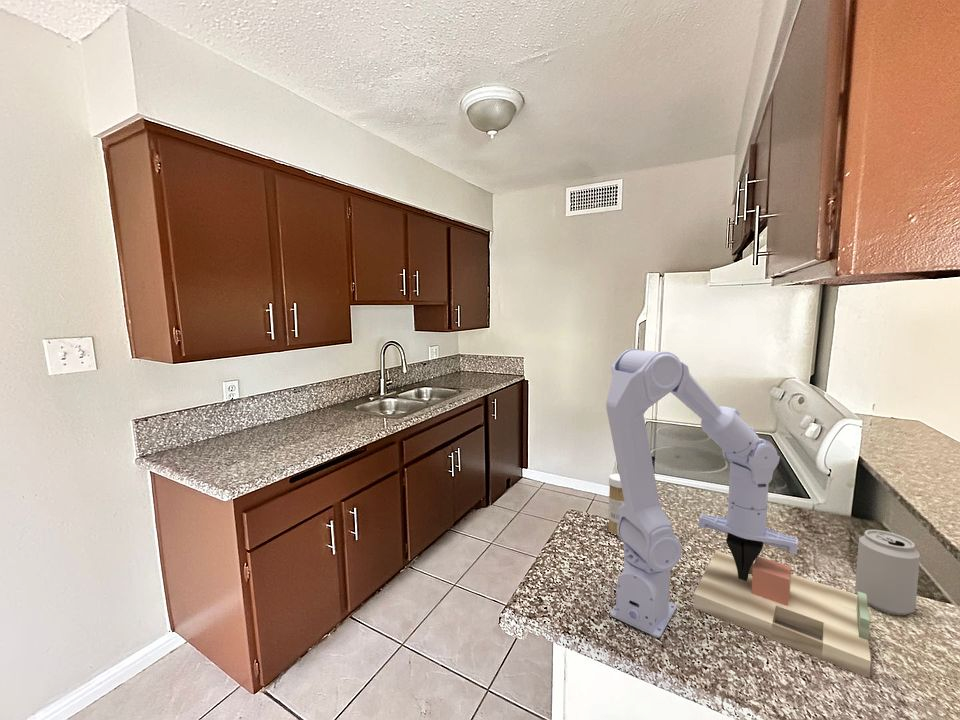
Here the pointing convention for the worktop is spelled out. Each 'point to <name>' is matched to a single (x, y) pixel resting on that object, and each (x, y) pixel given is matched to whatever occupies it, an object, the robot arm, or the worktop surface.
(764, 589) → the block
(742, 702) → the worktop surface
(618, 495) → the sprinkles bottle
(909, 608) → the can
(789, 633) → the board
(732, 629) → the worktop surface
